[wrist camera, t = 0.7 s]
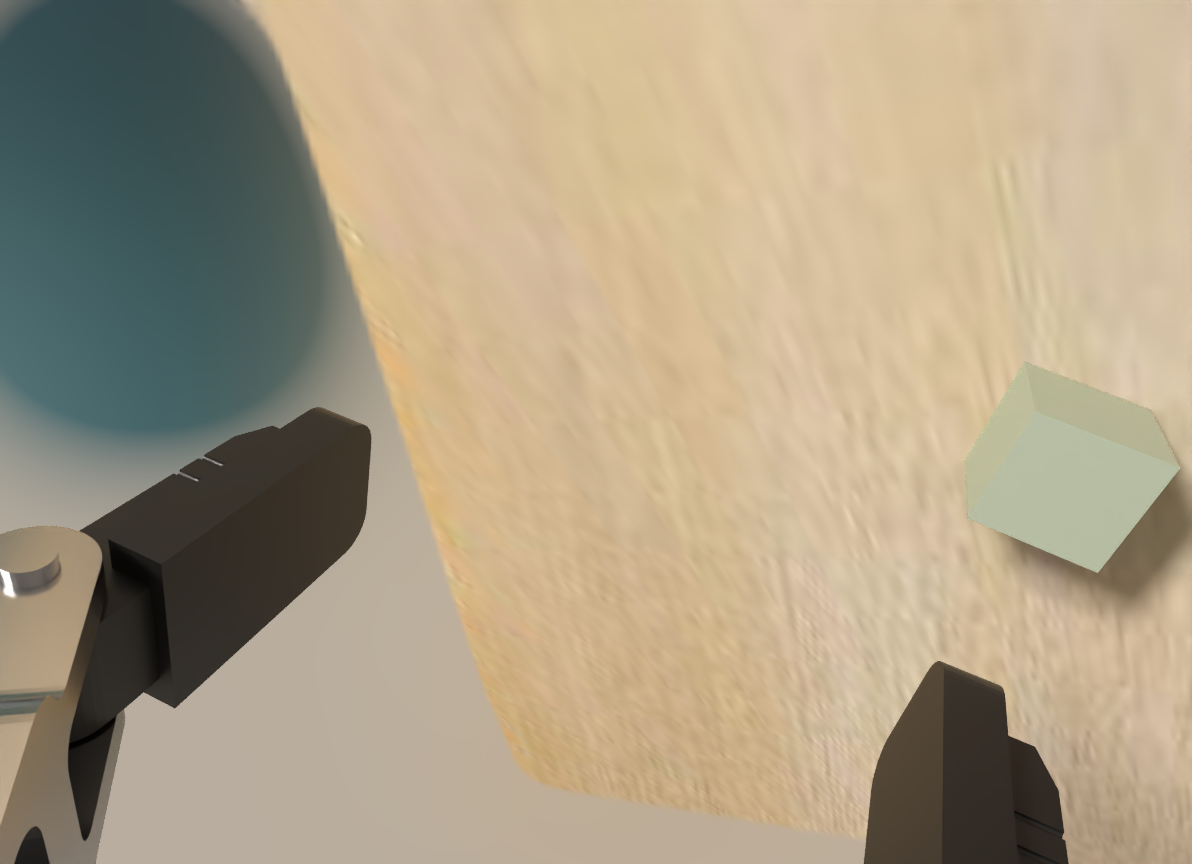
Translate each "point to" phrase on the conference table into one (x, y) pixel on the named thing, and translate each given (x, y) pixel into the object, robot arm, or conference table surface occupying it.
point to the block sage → (1066, 467)
